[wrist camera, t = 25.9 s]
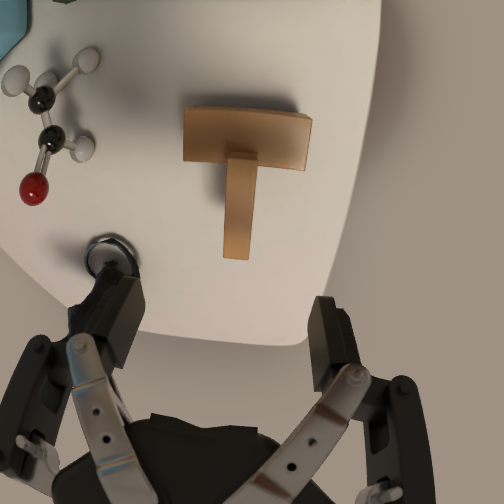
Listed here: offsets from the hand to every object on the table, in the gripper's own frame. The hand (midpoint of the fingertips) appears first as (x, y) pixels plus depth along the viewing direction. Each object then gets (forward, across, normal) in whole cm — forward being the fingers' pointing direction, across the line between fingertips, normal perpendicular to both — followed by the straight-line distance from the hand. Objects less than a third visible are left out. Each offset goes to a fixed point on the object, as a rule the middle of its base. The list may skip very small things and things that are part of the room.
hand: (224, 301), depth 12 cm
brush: (+16, 0, -1) cm, 16 cm away
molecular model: (+16, +17, -7) cm, 24 cm away
